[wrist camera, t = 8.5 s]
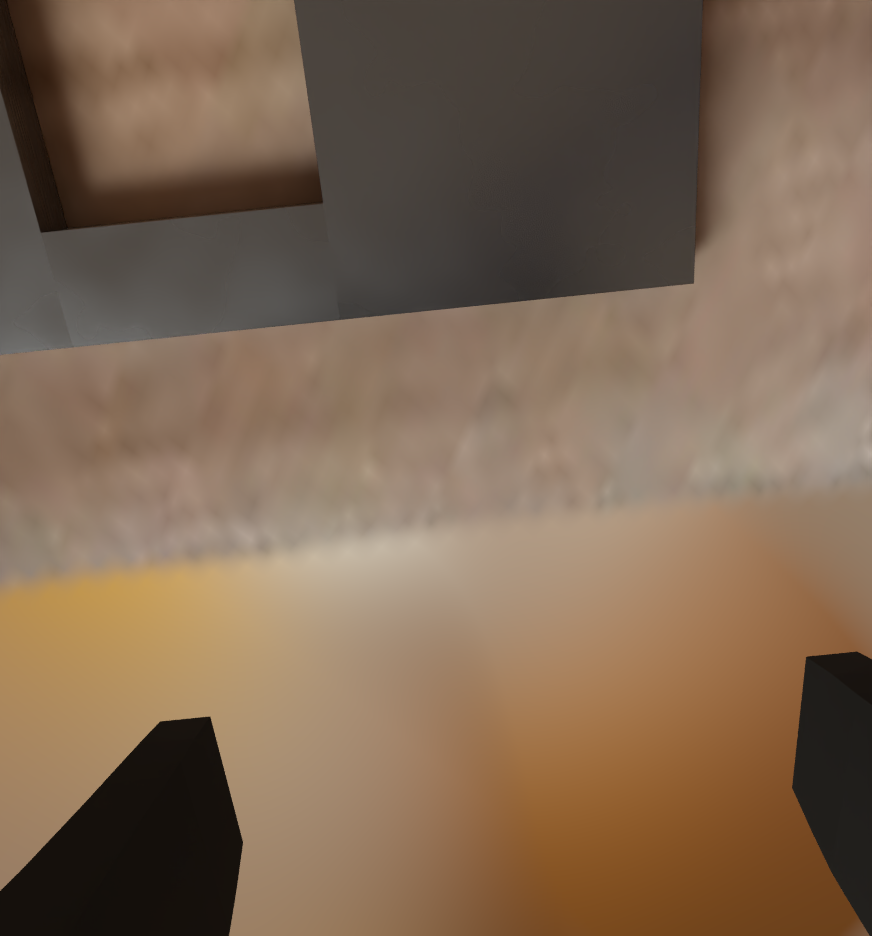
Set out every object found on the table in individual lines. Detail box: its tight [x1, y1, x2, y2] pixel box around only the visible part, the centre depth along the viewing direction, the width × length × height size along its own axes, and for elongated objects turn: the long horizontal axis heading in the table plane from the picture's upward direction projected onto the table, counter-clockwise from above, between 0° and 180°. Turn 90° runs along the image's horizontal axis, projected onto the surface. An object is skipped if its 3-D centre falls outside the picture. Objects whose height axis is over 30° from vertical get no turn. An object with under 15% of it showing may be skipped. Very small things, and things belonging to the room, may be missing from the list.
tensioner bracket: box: [0, 0, 703, 355], centre depth 14 cm, size 20×10×1 cm, turn 95°
